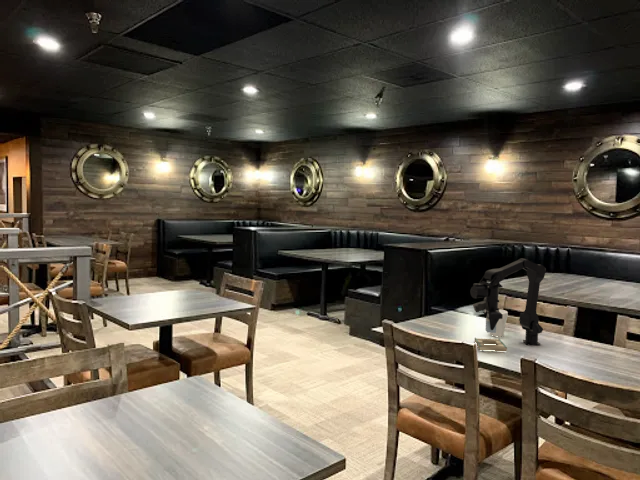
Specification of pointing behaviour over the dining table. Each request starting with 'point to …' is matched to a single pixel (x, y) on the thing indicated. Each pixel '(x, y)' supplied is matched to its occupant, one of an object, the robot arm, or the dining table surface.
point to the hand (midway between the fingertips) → (490, 328)
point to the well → (497, 347)
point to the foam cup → (501, 324)
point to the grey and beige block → (489, 327)
